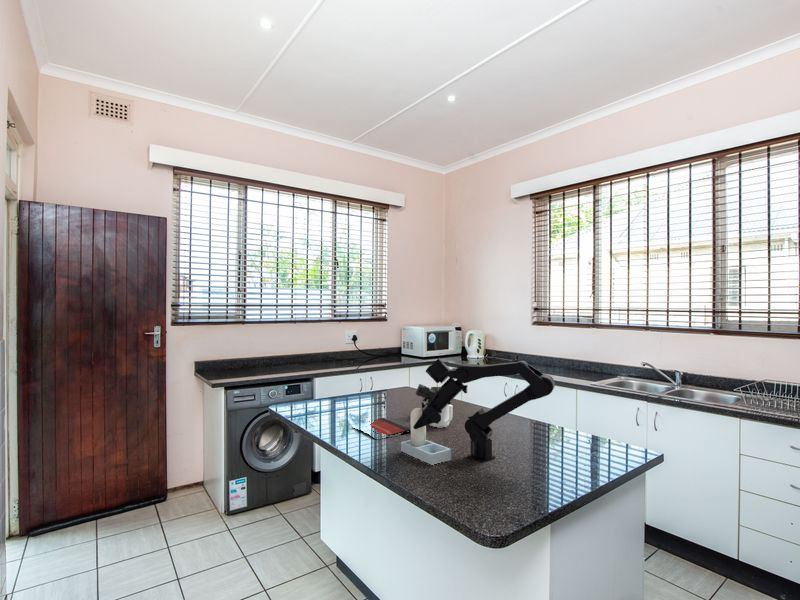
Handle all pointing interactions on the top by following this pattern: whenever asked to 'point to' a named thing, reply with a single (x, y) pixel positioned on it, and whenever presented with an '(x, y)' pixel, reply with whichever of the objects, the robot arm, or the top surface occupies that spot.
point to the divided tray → (427, 452)
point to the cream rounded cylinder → (417, 430)
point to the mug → (444, 417)
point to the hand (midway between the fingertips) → (414, 425)
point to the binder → (388, 427)
